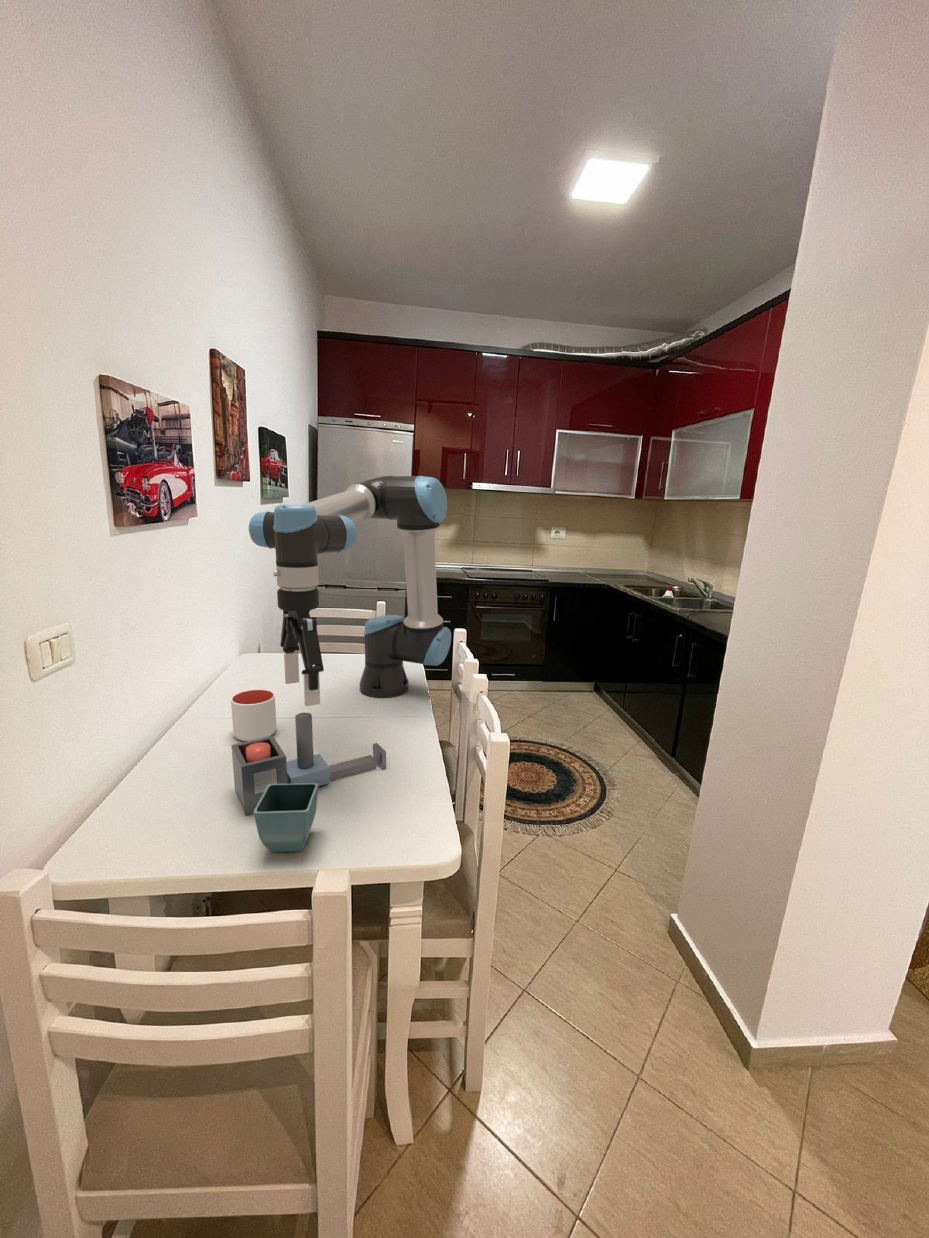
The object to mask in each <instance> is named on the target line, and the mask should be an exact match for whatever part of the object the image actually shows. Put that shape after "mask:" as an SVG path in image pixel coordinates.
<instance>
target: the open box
mask: <svg viewBox="0 0 929 1238" xmlns="http://www.w3.org/2000/svg"><path fill="white" fill-rule="evenodd" d="M259 742H264V743H268V744H269V745H270V753H271V758H267V759H262V760H258V761H254V762H250V763H247V760H246V748H247V747H248V746H249V745H251V744H254V743H259ZM230 746H231V758H232V759H231V760H232V769H233V770H232V771H233V772H232V773H233V783H234V791H235V794H236V796H237V799H238V802H239V804H240V806H241V809H242V812H243V813H244V816H249V815H252V814H254V813H253V812H254V809H255V807H256V806H257V804H258V802H259V800H260V799H261V797H262V795H263V793H264V791H265V789H266V787H267V786H268V785H269V784H288V782H287V763H286V762H287V755H286V754H285V752H284V751H283V749H282V747H281V746H280V744H279V742H278V741H277V740H276V738H275V736H274V735H271V736H270V737H266V738H261V739H256V740H252V741H243V742H239V743H233V744H231V745H230Z"/></svg>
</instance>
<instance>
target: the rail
mask: <svg viewBox="0 0 929 1238" xmlns="http://www.w3.org/2000/svg"><path fill="white" fill-rule="evenodd" d="M328 765H329V764H328ZM377 765H378V767H379V768H380V769H381V770H385V769H387V751H386V750H385V749H384V748H383V747H382V746H381V745H380V744H379V743H378V742H374V743H372V754H368V755H364V756H361V757H358V758H352V759H349V760H344V761H342V762H337V763H334V764H330V765H329V767H330V774H331V777H329V783H330V782H334V781H336V780H341V779H344V778H348V777H352V776H355V775H358V774H362V773H365V772H369V771H372V770H376V769H377ZM287 782H288V781H287ZM288 784H289V783H288Z"/></svg>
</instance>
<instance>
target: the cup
mask: <svg viewBox="0 0 929 1238" xmlns="http://www.w3.org/2000/svg"><path fill="white" fill-rule="evenodd" d="M230 706H231V707H230V708H231V719H232V720H231V721H232V730H233V731H232V733H233V736H234V737H235V738H236V739H237V740H239V741H243V742H247V741H252V740H256V739H261V738H266V737H270V736H274V733H275V732H277V728H278V727H277V711H276V710H277V709H276V694H275V693H274V692H273V691H272V690H267V689H250V690H245V691H241V692H238V693H236V694H235V695H232V696H231V698H230Z"/></svg>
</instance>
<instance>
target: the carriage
mask: <svg viewBox="0 0 929 1238" xmlns="http://www.w3.org/2000/svg"><path fill="white" fill-rule="evenodd" d="M294 718H295V720H294V722H295V737H296V738H295V739H296V759H292V760H288V761H287V760H286V763H287V781H288V783H289V784H294V783H295V784H296V783H318V787H322V786H325V785H328V784H330V782H329V777H331V774H330V767H329V764H328V763H327V761H326V760H325V759H324V757H323V756H322V755H321V754H320V753H317V754H314V737H313V734H314V733H313V715H312V713H310V712H300V713H296V715H295V716H294Z"/></svg>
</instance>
